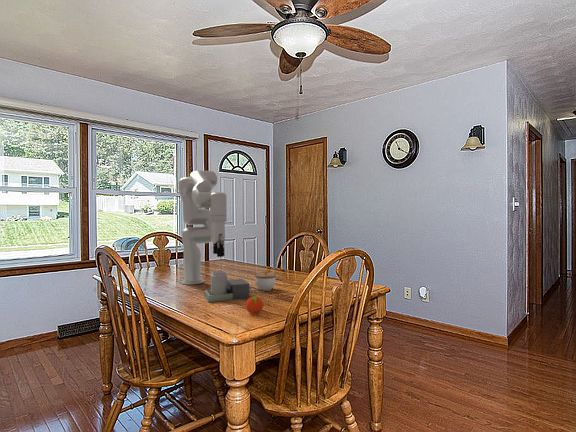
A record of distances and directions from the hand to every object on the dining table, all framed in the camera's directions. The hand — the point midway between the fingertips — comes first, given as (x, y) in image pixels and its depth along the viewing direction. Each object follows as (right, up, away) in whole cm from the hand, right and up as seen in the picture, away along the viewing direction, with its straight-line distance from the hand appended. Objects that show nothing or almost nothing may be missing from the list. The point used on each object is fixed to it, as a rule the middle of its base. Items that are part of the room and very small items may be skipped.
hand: (218, 255), depth 170 cm
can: (0, -20, 0) cm, 20 cm away
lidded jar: (+21, -20, +18) cm, 34 cm away
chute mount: (+4, -20, +1) cm, 21 cm away
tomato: (+19, -21, -26) cm, 38 cm away
